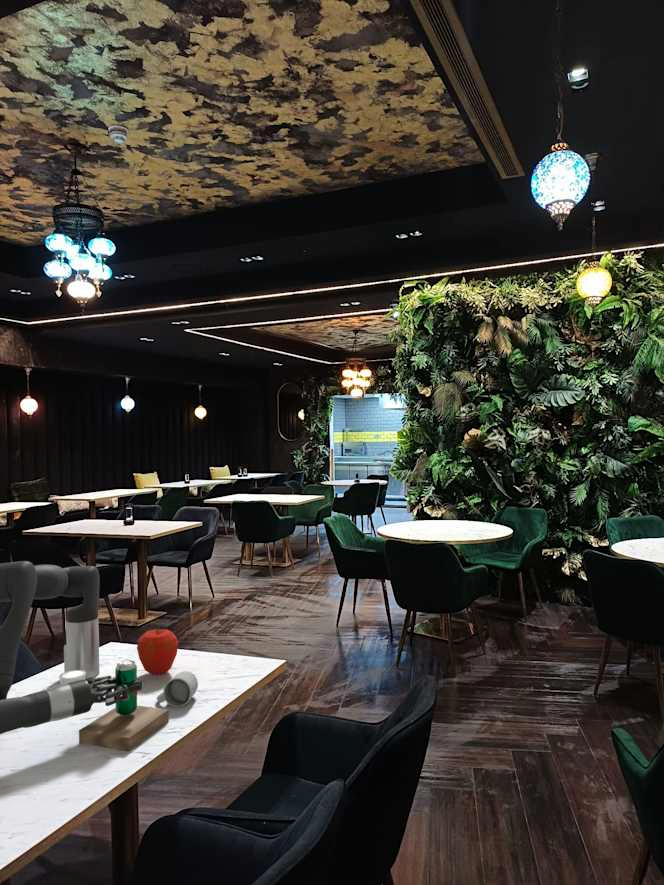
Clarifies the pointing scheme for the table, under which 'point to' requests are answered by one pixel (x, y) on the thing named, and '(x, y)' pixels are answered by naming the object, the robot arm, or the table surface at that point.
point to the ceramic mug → (179, 689)
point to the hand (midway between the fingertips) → (136, 681)
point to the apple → (157, 651)
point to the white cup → (72, 676)
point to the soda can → (125, 675)
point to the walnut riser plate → (123, 728)
